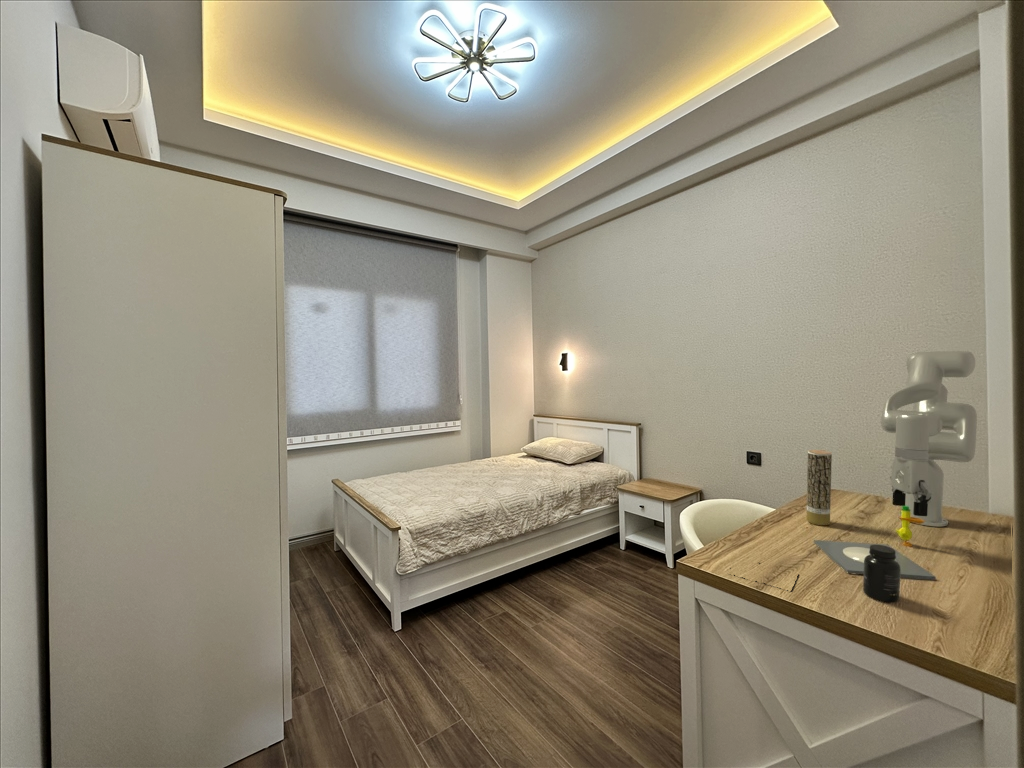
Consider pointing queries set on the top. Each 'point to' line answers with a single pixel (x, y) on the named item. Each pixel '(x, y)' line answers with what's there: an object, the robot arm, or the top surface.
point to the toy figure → (907, 525)
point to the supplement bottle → (882, 574)
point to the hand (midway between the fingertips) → (909, 510)
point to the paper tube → (819, 487)
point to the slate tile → (855, 553)
